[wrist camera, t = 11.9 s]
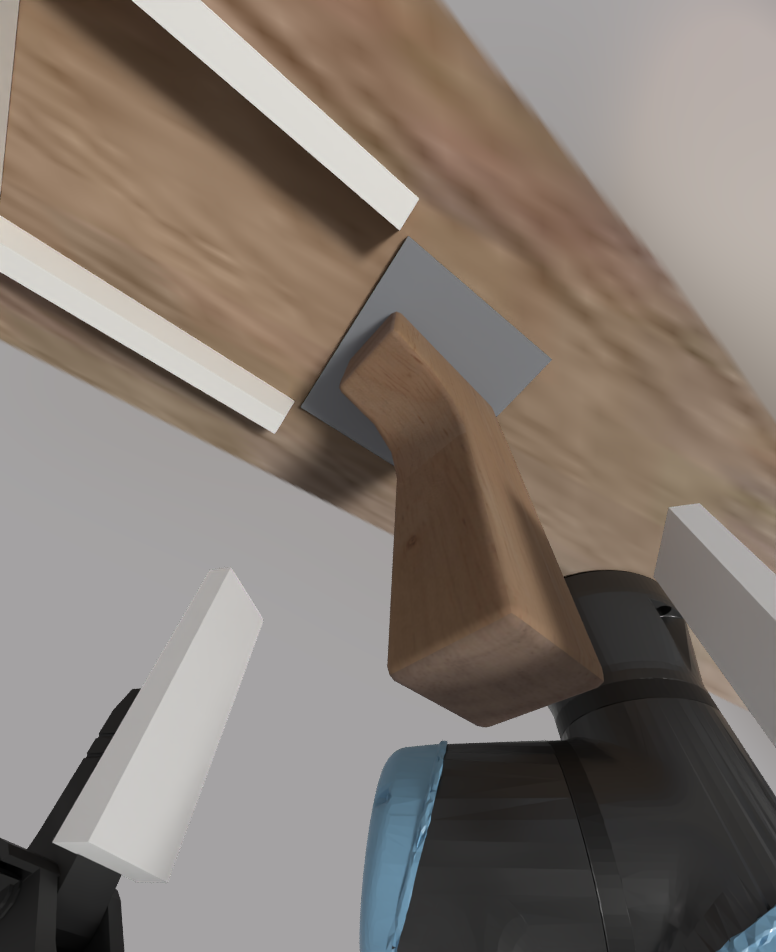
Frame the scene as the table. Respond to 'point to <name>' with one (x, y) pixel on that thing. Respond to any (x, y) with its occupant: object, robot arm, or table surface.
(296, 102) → the white u-shaped bracket
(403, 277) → the pad
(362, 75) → the table surface
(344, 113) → the table surface
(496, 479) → the wooden block
